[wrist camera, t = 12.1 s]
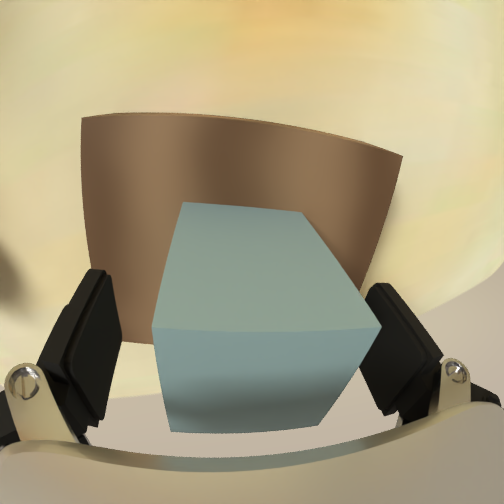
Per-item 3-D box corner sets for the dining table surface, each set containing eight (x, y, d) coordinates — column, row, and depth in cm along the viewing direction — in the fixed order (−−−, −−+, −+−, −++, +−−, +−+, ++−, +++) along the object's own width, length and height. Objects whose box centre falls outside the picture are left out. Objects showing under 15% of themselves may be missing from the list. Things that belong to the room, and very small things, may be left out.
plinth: (363, 142, 14) (402, 155, 11) (316, 306, 20) (334, 345, 17) (113, 113, 12) (81, 117, 8) (122, 297, 18) (108, 339, 14)
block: (301, 212, 12) (381, 326, 6) (279, 303, 14) (317, 425, 8) (182, 202, 11) (151, 327, 5) (180, 299, 13) (170, 431, 7)
